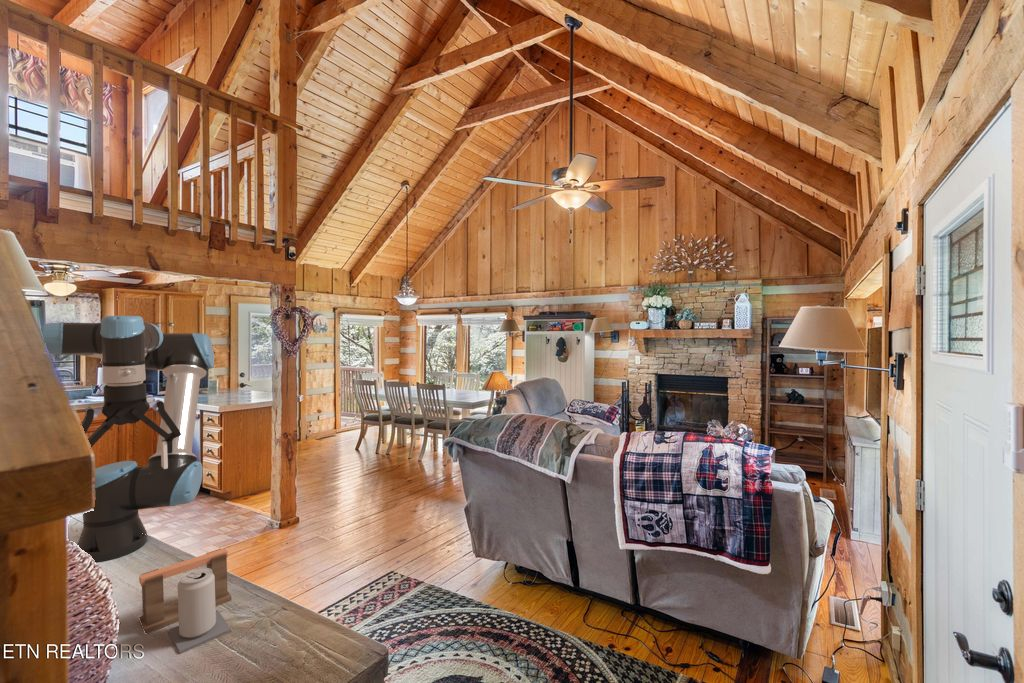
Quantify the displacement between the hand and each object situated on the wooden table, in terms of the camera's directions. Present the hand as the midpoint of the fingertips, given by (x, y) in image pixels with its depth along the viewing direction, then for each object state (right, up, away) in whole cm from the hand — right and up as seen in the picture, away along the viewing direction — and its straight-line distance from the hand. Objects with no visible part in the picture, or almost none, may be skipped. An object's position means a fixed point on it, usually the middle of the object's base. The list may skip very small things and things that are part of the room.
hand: (128, 474), depth 109 cm
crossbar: (+16, -20, -4) cm, 26 cm away
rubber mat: (+23, -30, -10) cm, 39 cm away
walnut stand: (+16, -29, -4) cm, 34 cm away
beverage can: (+23, -30, -11) cm, 39 cm away
